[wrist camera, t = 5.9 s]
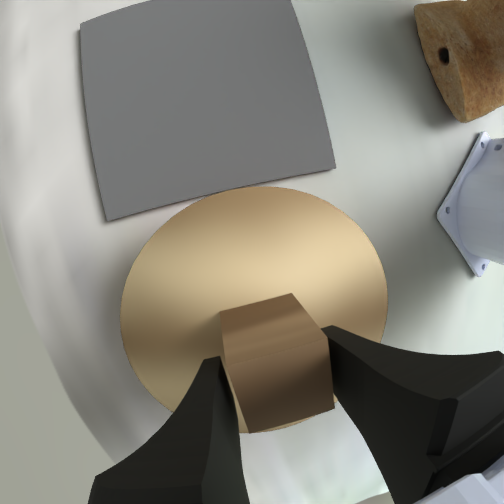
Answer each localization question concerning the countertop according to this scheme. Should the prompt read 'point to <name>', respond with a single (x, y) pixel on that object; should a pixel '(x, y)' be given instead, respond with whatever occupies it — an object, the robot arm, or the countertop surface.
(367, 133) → the countertop surface
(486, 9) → the stone cup
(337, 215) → the oak lid
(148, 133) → the charcoal mat
